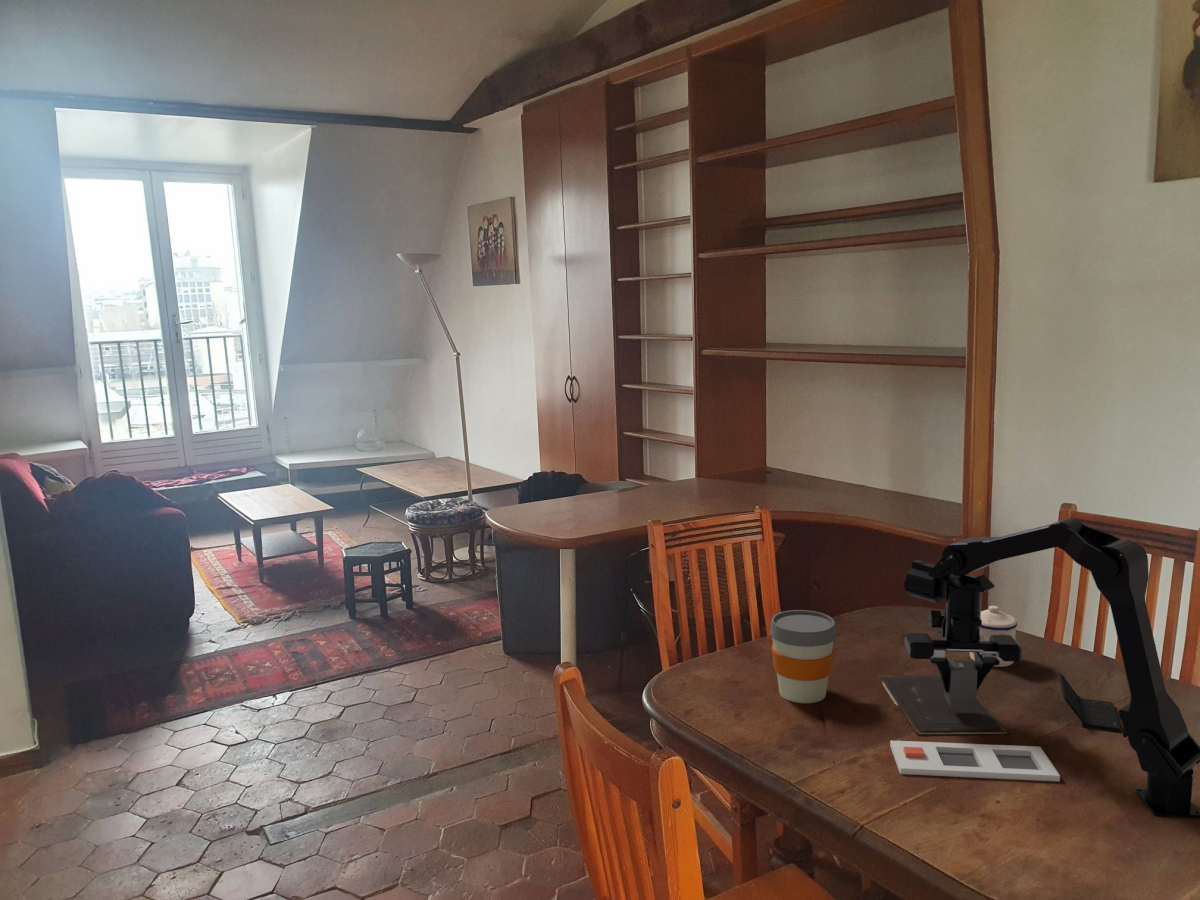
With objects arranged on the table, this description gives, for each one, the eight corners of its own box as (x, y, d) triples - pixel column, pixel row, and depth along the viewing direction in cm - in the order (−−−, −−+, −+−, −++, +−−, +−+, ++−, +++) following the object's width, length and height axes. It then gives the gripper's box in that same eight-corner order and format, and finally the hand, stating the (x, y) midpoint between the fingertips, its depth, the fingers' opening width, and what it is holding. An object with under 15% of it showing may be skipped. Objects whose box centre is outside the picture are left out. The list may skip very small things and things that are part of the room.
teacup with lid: (961, 651, 188) (963, 600, 186) (1002, 650, 188) (1004, 598, 186) (986, 674, 176) (988, 620, 174) (1030, 673, 176) (1033, 618, 174)
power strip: (1059, 787, 136) (1060, 771, 135) (836, 776, 141) (836, 760, 140) (1039, 757, 144) (1040, 742, 144) (830, 748, 150) (830, 733, 149)
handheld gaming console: (1134, 725, 151) (1096, 677, 152) (1097, 746, 153) (1060, 699, 154) (1113, 704, 162) (1078, 660, 164) (1079, 725, 164) (1044, 681, 165)
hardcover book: (915, 743, 151) (916, 731, 151) (880, 686, 174) (880, 675, 174) (1009, 742, 151) (1009, 730, 150) (961, 685, 173) (961, 674, 173)
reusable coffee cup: (802, 674, 180) (802, 605, 177) (849, 696, 169) (850, 623, 167) (756, 690, 173) (756, 618, 170) (802, 713, 162) (803, 638, 160)
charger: (976, 707, 154) (977, 670, 153) (950, 706, 155) (951, 669, 153) (969, 696, 158) (970, 660, 157) (944, 696, 159) (945, 659, 158)
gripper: (1005, 595, 160) (1001, 674, 162) (900, 593, 163) (898, 671, 165) (1024, 616, 149) (1020, 701, 152) (911, 614, 152) (909, 697, 155)
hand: (960, 691), depth 156 cm, fingers closed on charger, 4 cm apart
